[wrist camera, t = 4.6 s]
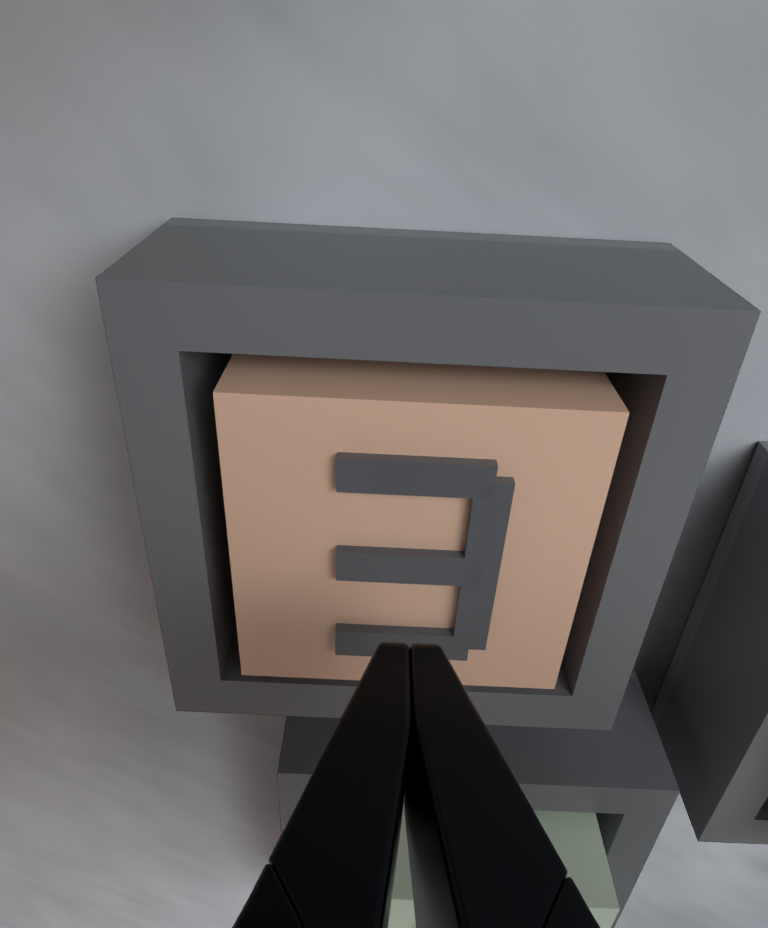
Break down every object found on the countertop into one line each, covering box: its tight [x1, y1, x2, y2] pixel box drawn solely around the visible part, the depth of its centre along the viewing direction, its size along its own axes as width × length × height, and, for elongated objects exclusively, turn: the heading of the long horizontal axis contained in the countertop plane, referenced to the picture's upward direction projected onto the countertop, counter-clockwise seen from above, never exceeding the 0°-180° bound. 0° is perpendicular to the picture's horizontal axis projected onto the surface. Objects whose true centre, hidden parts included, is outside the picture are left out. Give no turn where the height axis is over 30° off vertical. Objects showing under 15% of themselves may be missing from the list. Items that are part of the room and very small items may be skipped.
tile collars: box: [96, 218, 768, 928], centre depth 16 cm, size 20×21×4 cm
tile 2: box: [388, 804, 620, 928], centre depth 17 cm, size 6×6×3 cm
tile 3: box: [213, 354, 629, 689], centre depth 12 cm, size 6×6×3 cm
